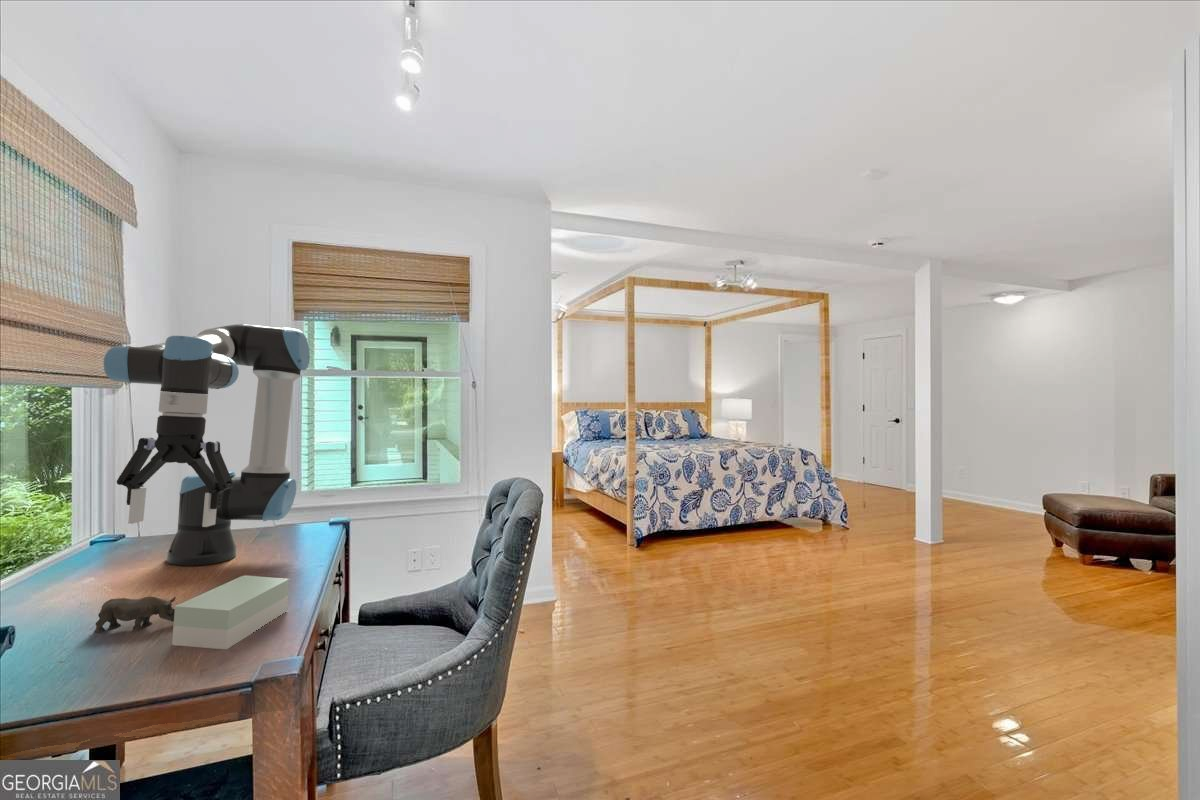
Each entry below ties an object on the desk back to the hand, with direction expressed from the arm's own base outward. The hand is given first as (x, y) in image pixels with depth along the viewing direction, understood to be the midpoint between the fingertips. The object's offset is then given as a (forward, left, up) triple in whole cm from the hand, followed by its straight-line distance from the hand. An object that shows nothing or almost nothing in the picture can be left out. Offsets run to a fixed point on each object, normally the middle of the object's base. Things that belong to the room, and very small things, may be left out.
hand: (172, 524), depth 105 cm
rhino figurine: (+1, -3, -20) cm, 20 cm away
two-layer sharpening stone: (-2, +13, -20) cm, 23 cm away
